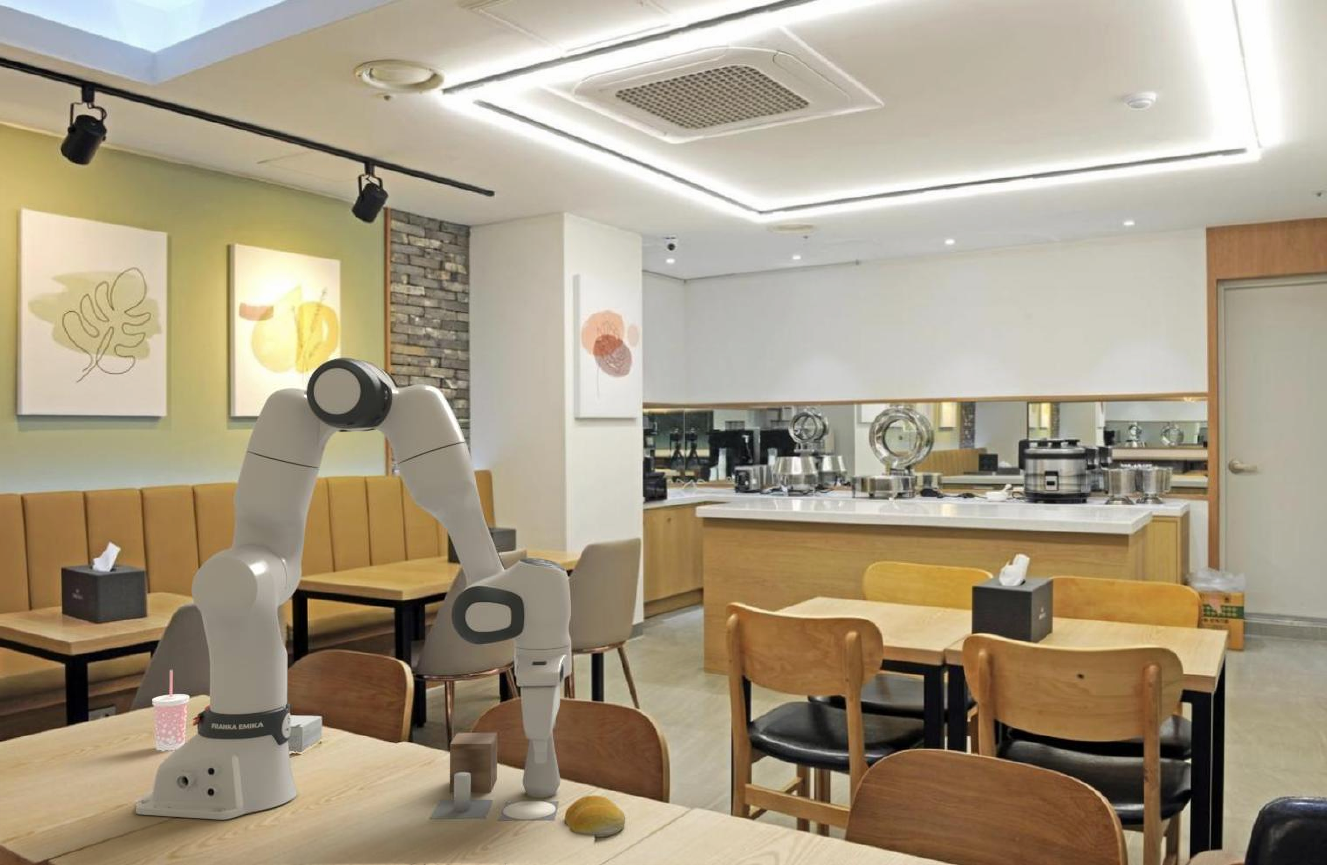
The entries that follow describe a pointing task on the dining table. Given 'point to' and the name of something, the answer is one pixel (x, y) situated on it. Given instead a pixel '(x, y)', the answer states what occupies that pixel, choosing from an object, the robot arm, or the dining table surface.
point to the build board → (529, 811)
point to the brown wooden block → (475, 759)
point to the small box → (304, 732)
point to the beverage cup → (170, 719)
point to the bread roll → (595, 816)
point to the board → (470, 814)
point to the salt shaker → (541, 772)
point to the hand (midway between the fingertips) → (544, 753)
